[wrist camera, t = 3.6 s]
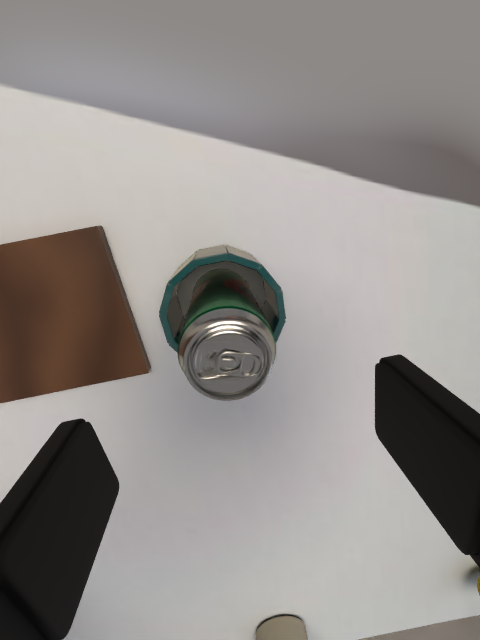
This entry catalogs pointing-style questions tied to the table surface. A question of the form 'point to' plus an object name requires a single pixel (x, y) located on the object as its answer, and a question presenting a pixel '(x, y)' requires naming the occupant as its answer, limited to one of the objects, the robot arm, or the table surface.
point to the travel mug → (282, 629)
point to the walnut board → (64, 316)
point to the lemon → (478, 584)
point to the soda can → (225, 338)
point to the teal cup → (170, 303)
